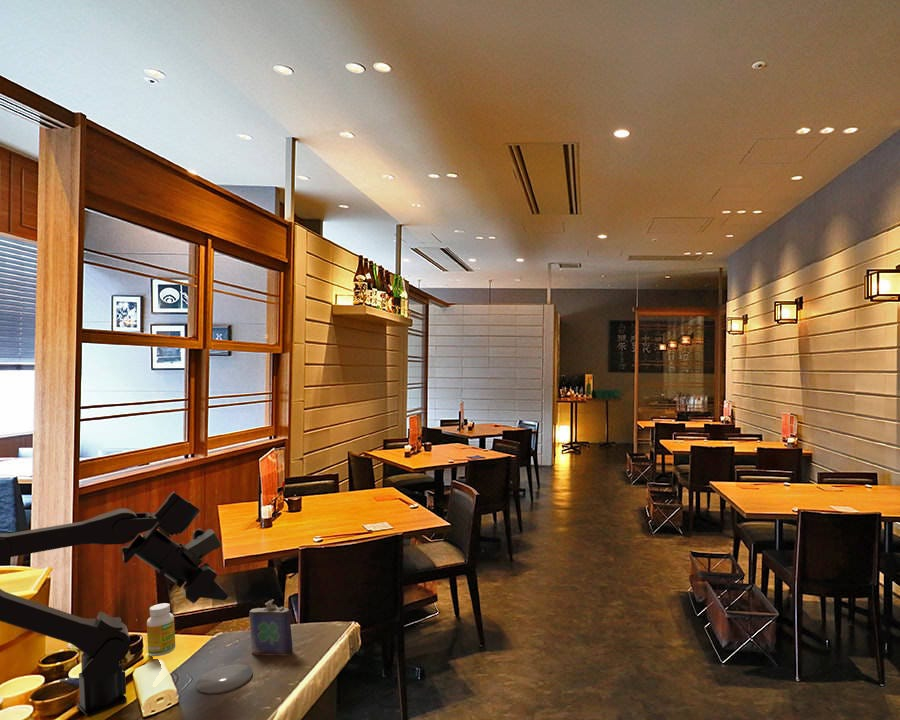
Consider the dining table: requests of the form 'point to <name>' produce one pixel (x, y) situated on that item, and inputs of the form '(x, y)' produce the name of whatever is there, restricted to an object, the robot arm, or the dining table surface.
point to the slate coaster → (224, 679)
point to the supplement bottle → (160, 630)
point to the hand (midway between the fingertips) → (226, 597)
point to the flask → (270, 630)
